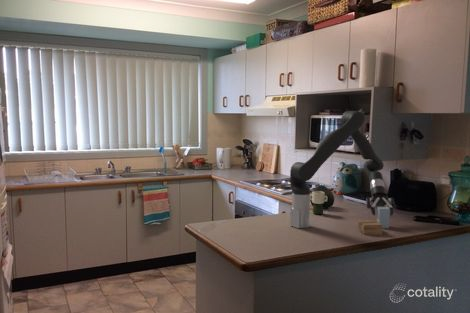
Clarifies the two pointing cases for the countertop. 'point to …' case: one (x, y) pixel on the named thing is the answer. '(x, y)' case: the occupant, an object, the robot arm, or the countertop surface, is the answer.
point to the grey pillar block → (383, 216)
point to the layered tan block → (369, 227)
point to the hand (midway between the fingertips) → (382, 214)
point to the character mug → (318, 201)
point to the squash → (329, 195)
